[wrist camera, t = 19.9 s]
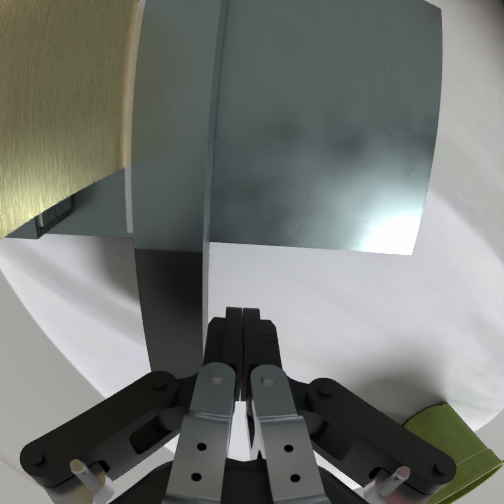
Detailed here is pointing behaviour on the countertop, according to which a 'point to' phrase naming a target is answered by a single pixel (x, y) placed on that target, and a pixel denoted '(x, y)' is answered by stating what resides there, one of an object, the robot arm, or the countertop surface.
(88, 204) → the vise
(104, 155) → the brass block
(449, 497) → the plant pot
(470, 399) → the countertop surface
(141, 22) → the sliding jaw
